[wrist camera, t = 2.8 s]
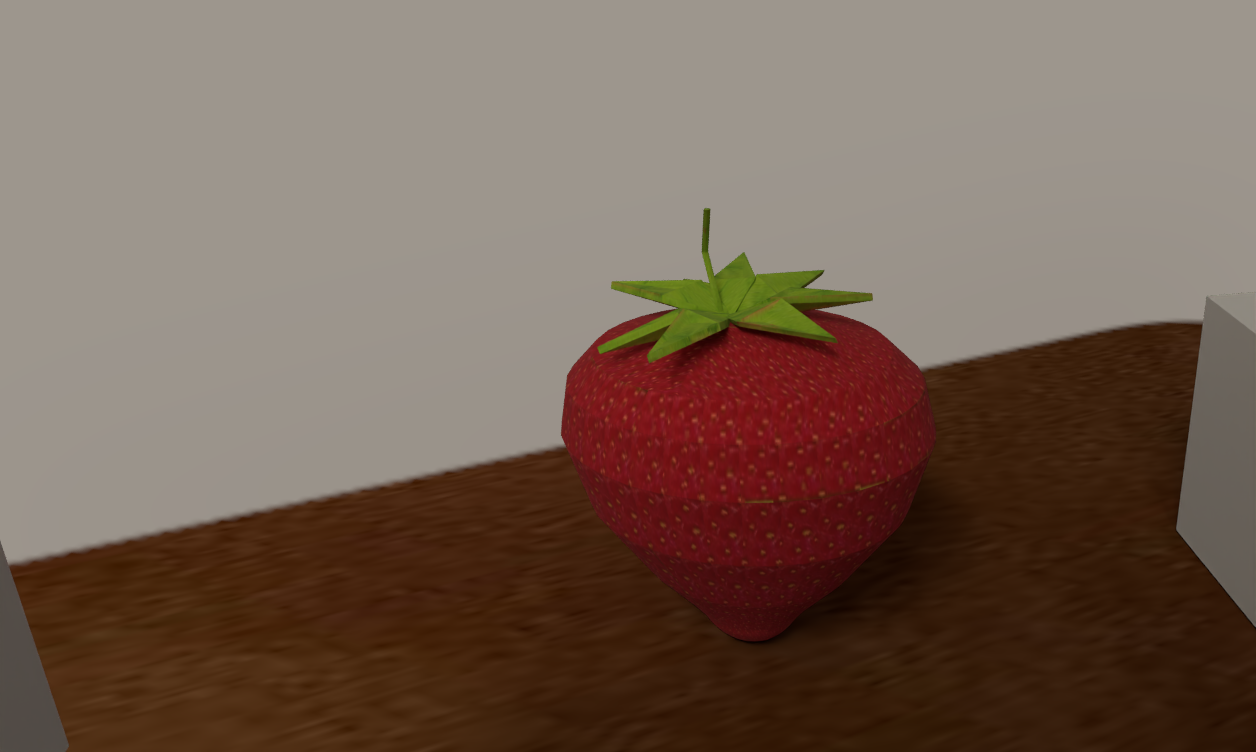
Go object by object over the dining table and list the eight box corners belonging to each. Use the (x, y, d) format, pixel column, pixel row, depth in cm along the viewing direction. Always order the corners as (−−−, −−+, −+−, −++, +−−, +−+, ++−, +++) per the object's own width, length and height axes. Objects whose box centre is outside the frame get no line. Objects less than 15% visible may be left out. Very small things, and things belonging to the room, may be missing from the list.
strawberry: (909, 765, 22) (921, 257, 18) (541, 698, 25) (476, 241, 21) (945, 586, 27) (961, 156, 23) (635, 546, 30) (599, 153, 26)
